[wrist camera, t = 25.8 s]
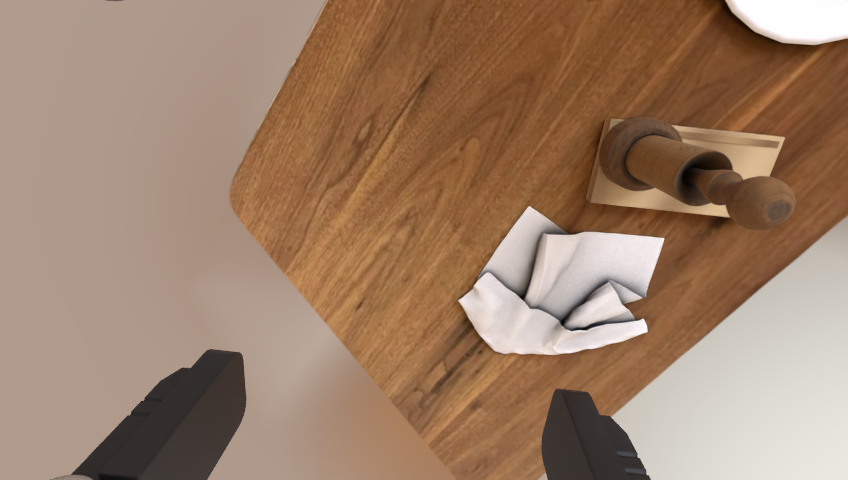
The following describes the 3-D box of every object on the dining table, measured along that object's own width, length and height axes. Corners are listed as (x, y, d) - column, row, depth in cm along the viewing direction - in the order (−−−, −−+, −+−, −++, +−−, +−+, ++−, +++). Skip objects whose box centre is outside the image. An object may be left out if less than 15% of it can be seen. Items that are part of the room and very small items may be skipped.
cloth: (434, 306, 47) (433, 317, 45) (573, 157, 41) (580, 162, 38) (561, 398, 51) (566, 412, 49) (707, 277, 44) (721, 287, 42)
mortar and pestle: (676, 113, 37) (864, 145, 20) (666, 183, 40) (826, 263, 23) (601, 118, 38) (724, 154, 21) (595, 187, 40) (702, 268, 23)
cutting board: (585, 198, 42) (590, 202, 40) (605, 117, 39) (611, 119, 38) (741, 215, 42) (752, 220, 40) (773, 135, 39) (786, 137, 37)
